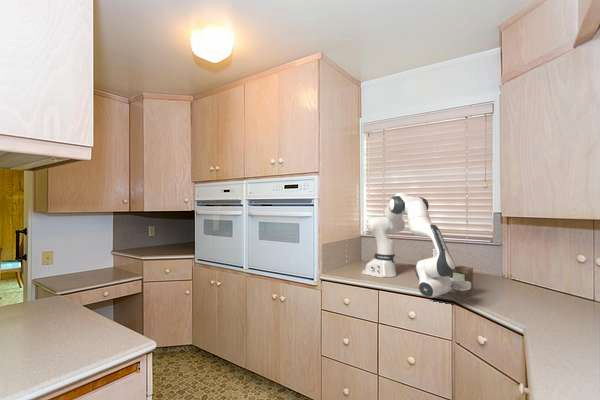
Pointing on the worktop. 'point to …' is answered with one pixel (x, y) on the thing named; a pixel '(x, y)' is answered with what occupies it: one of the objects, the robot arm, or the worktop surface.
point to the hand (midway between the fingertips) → (455, 279)
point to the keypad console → (469, 277)
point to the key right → (459, 276)
